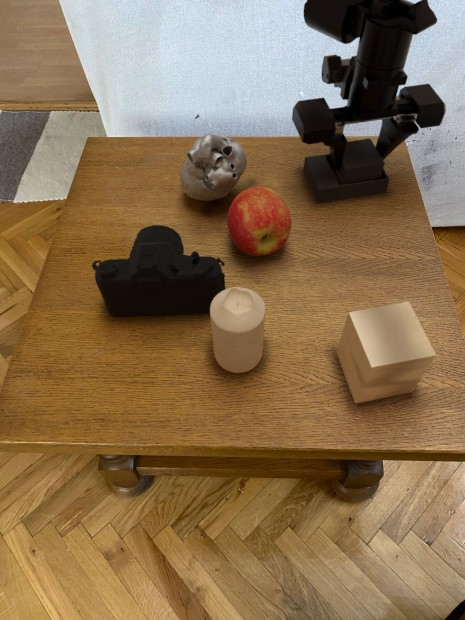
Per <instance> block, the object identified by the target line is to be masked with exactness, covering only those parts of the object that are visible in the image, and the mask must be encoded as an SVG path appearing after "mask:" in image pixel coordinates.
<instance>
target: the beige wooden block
mask: <svg viewBox="0 0 465 620" xmlns="http://www.w3.org/2000/svg"><path fill="white" fill-rule="evenodd" d="M335 353H336V356H337V359H338V361H339V364H340V367H341V369H342V372H343V375H344V377H345V380H346V383H347V386H348V389H349V391H350V393H351V396H352V399H353V402H354V404H359V403H365V402H370V401H376V400H380V399H385V398H390V397H395V396H400V395H405V394H410V393H413V391H414V390H415V388H417V385H418V384H419V382H420V381H421V380H422V378H423V376H424V375H425V373H426V372H427V370H428V369H429V368H430V366H431V364H432V362H433V361H434V360H435V358H436V357H437V353H436V351H435V349H434V348H433V346H432V343H431V342H430V340H429V338H428V335H427V333H426V332H425V330H424V328H423V326H422V323H421V322H420V320H419V318H418V316H417V314H416V312H415V311H414V308H413V306H412V304H411V302H410V301H409V300H408V301H403V302H397V303H392V304H386V305H381V306H376V307H375V306H374V307H369V308H365V309H364V308H363V309H359V310H358V309H357V310H353V311H348V313H347V317H346V320H345V322H344V326H343V329H342V332H341V336H340V338H339V341H338V345H337V348H336V351H335Z"/></svg>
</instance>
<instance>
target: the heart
mask: <svg viewBox="0 0 465 620" xmlns="http://www.w3.org/2000/svg"><path fill="white" fill-rule="evenodd" d="M192 144H193V145H192V146H191V148H190V150H189V151H187V152H186V156H187V158H186V159H185V161H184V163H183V164H182V166H181V169H180V172H179V182H180V186H181V190H182V191H183V193H185V195H186V196H187V197H189V198H190V199H193V200H199V201H205V202H206V201H207V202H209V201H210V202H211V201H214V200H219V199H222V198H224V197H226V196H228V193H230V192H232V191H234V189H235V188H237V185H238V184H239V181H240V179H241V177H242V176H243V175H244V173H245V171H246V169H247V164H248V160H247V156H246V154H245V151H244V149H243V146H242V144H241V143H240V142H238V141H236V140H235V139H233V138H230V137H228V136H224V135H216V134H211V133H206V134H204V135H202V137H198V138H197V139H196V140H195V141H194V143H192Z"/></svg>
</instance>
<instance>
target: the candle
mask: <svg viewBox="0 0 465 620" xmlns="http://www.w3.org/2000/svg"><path fill="white" fill-rule="evenodd" d="M209 314H210V315H209V317H210V326H211V327H210V328H211V337H212V348H213V354H214V358H215V361H216V362H217V364H218V365H219V366H220V367H221V368H222V369H224V371H227V372H229V373H234V374H242V373H246V372H249V371H251V370H253V369H254V368H256V367H257V365H258V364H259V363H260V361H261V359H262V358H263V357H262V356H263V349H264V337H265V323H266V304H265V302H264V299H263V297H261V296H260V295H259V294H258V293H257V292H256V291H255V290H252V289H250V288H247V287H243V286H233V287H228V288H225V290H223V291H221V292H220V293H219V294H217V295H216V296H215V298H214V299H213V300H212V303H211V306H210V313H209Z"/></svg>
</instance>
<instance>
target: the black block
mask: <svg viewBox="0 0 465 620" xmlns="http://www.w3.org/2000/svg"><path fill="white" fill-rule="evenodd" d="M331 160H332V159H331ZM385 164H386V162H385V161H384V160H383V159H382V157H381V156H380V154H379V152H378V150H377V149H376V145H375V144H374V142H373V141H372V138H363V139H356V140H350V141H347V145H346V149H345V152H344V156H343V160H342V164H341V166H340V168H339V170H338V172H337V174H338V177H339V178H340V181H341V183H342V184H349V183H355V182H361V181H367V180H374V179H375V178H379V177H381V175H382V171H383V169H385V168H384V167H385Z"/></svg>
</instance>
